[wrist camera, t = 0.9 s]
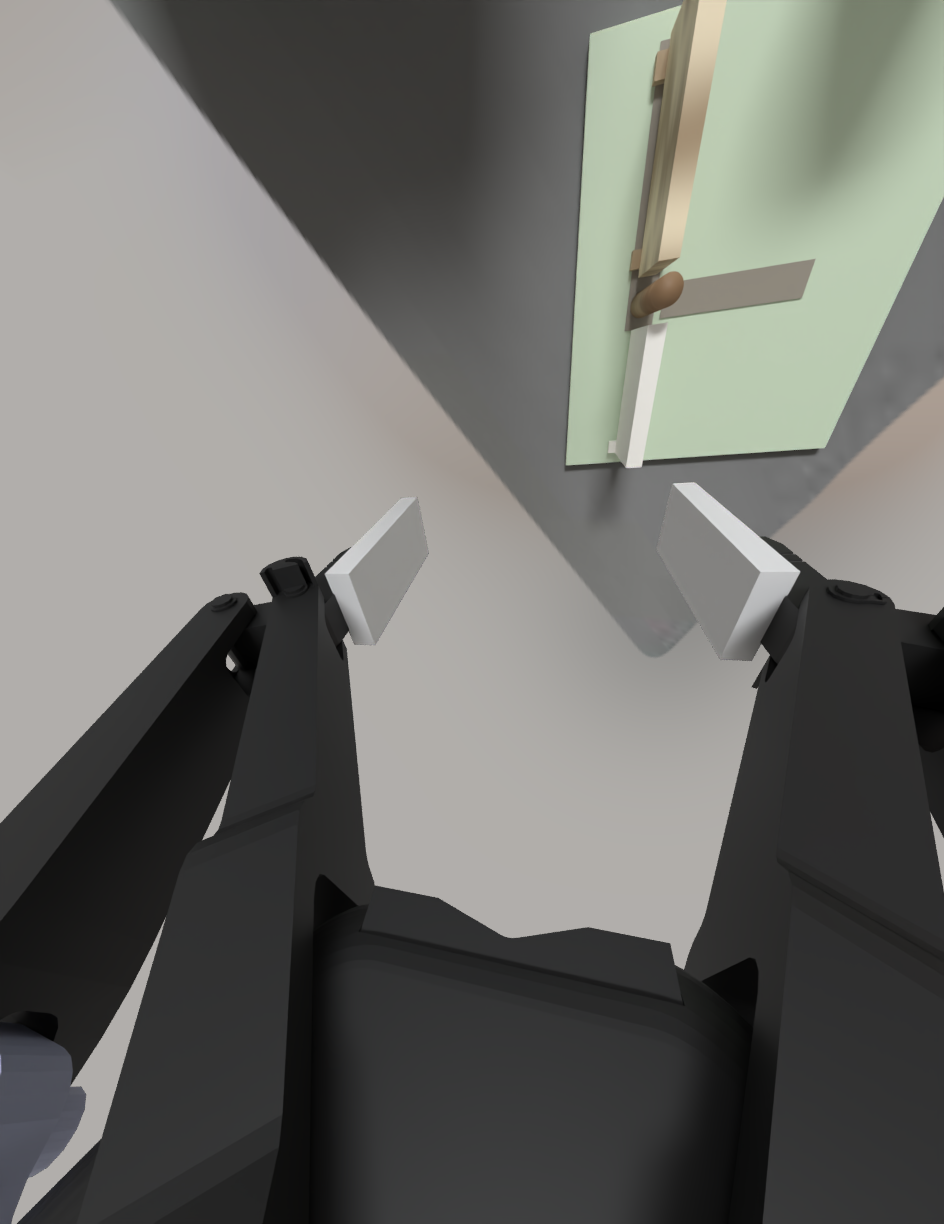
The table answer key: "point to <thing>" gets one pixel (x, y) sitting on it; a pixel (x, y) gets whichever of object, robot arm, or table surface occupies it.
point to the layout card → (758, 220)
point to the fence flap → (638, 393)
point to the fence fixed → (677, 147)
